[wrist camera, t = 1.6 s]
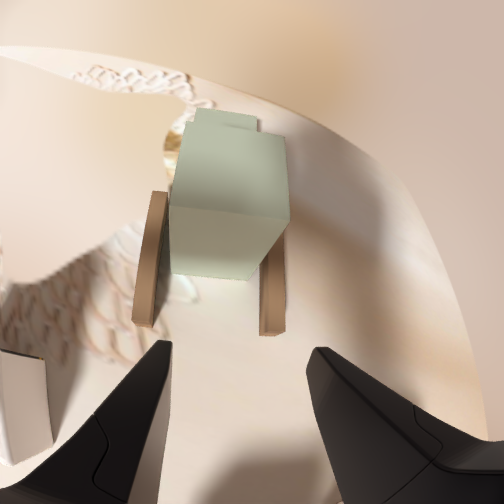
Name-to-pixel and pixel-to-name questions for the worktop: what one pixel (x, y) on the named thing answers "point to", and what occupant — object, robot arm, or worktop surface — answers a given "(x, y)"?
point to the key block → (226, 196)
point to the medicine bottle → (23, 408)
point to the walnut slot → (149, 266)
